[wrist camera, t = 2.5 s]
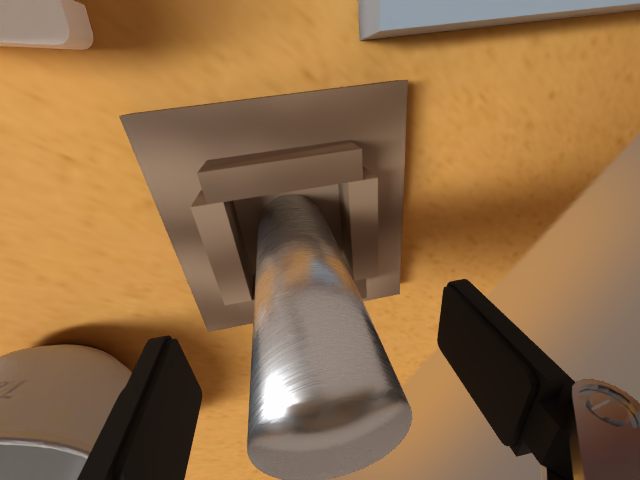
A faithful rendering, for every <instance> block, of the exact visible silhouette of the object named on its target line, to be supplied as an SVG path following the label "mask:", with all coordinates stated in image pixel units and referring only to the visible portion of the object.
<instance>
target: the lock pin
mask: <svg viewBox="0 0 640 480" xmlns="http://www.w3.org/2000/svg"><path fill="white" fill-rule="evenodd" d="M411 421H412V411H411V407H410V405H409V403H408V401H407V399H406V396H405V394H404V392H403V390H402V387H401V385H400V383H399V381H398V378H397V376H396V374H395V372H394V370H393V367H392V365H391V363H390V361H389V359H388V356H387V354H386V352H385V350H384V347H383V345H382V343H381V341H380V339H379V336H378V334H377V332H376V330H375V327H374V325H373V323H372V321H371V319H370V316H369V314H368V312H367V310H366V308H365V305H364V303H363V301H362V299H361V296H360V294H359V292H358V290H357V288H356V285H355V283H354V281H353V279H352V277H351V274H350V272H349V270H348V268H347V265H346V263H345V261H344V259H343V257H342V254H341V252H340V250H339V248H338V245H337V243H336V241H335V239H334V237H333V234H332V232H331V230H330V228H329V226H328V223H327V221H326V219H325V217H324V214H323V212H322V210H321V209H320V207H319V206H318V205H317V204H316V203H315V202H314V201H313V200H311V199H310V198H308V197H305V196H302V195H297V194H288V195H283V196H280V197H277V198H275V199H274V200H272V201H271V202H270V203H268V204H267V205H266V207H265V208H264V209H263V211H262V213H261V215H260V218H259V223H258V242H257V261H256V281H255V301H254V321H253V340H252V360H251V380H250V399H249V419H248V439H247V452H248V456H249V459H250V460H251V462H252V464H253V465H254V466H255V467H256V468H257V469H259V470H260V471H262V472H263V473H265V474H267V475H269V476H272V477H275V478H279V479H283V480H325V479H331V478H336V477H340V476H343V475H347V474H350V473H352V472H355V471H358V470H360V469H363V468H365V467H367V466H369V465H371V464H373V463H375V462H377V461H378V460H380V459H382V458H383V457H384V456H386V455H387V454H389V453H390V452H391V451H392V450H393V449H395V447H397V446H398V444H400V442H401V441H402V440H403V439H404V437H405V436H406V434H407V432H408V431H409V428H410V426H411Z"/></svg>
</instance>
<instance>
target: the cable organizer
mask: <svg viewBox="0 0 640 480" xmlns="http://www.w3.org/2000/svg"><path fill="white" fill-rule="evenodd" d="M92 43H93V32H92V29H91V25H90V22H89V18H88V15H87V11H86V8H85V5H83V4H81V3H79V2H77V1H74V0H0V46H8V47H30V48H52V49H74V50H85V49H88V48H89V47H91V45H92Z"/></svg>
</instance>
